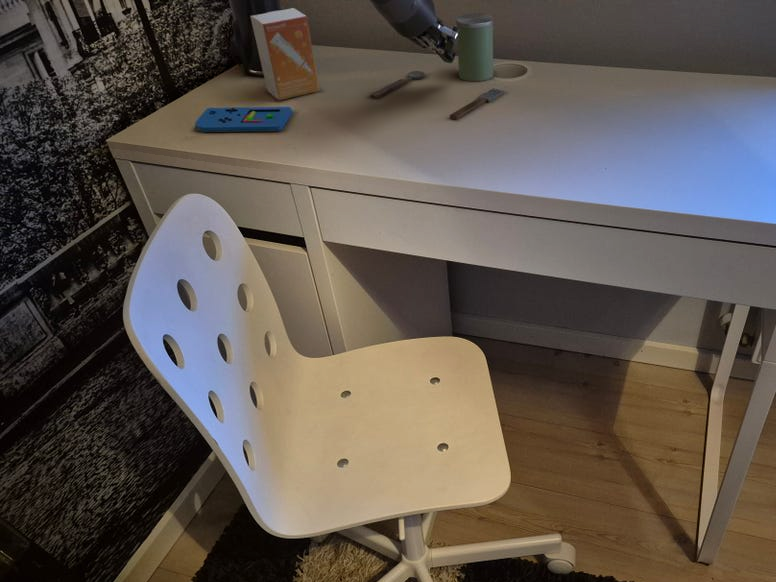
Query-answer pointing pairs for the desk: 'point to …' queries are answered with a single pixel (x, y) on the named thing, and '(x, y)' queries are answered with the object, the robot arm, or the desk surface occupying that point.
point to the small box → (285, 53)
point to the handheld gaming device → (243, 119)
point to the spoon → (398, 84)
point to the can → (475, 46)
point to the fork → (477, 103)
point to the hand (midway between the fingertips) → (450, 57)
